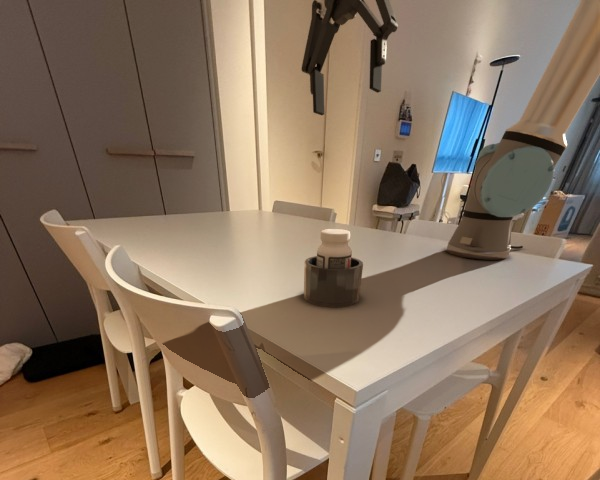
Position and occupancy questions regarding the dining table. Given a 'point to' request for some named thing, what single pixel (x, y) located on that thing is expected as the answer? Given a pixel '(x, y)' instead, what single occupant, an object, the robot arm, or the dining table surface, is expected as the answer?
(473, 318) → the dining table surface
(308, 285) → the cylindrical container
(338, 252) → the pill bottle
